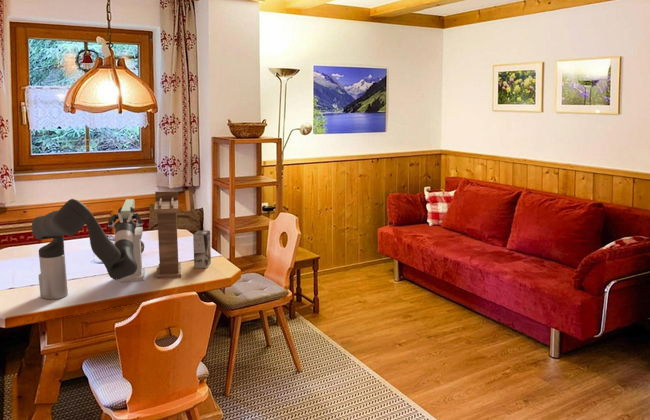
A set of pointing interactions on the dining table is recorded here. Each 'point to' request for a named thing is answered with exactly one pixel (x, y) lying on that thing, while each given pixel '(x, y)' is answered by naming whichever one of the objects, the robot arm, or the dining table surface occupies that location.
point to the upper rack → (167, 234)
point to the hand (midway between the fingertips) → (126, 208)
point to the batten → (127, 208)
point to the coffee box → (202, 249)
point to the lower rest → (136, 258)
